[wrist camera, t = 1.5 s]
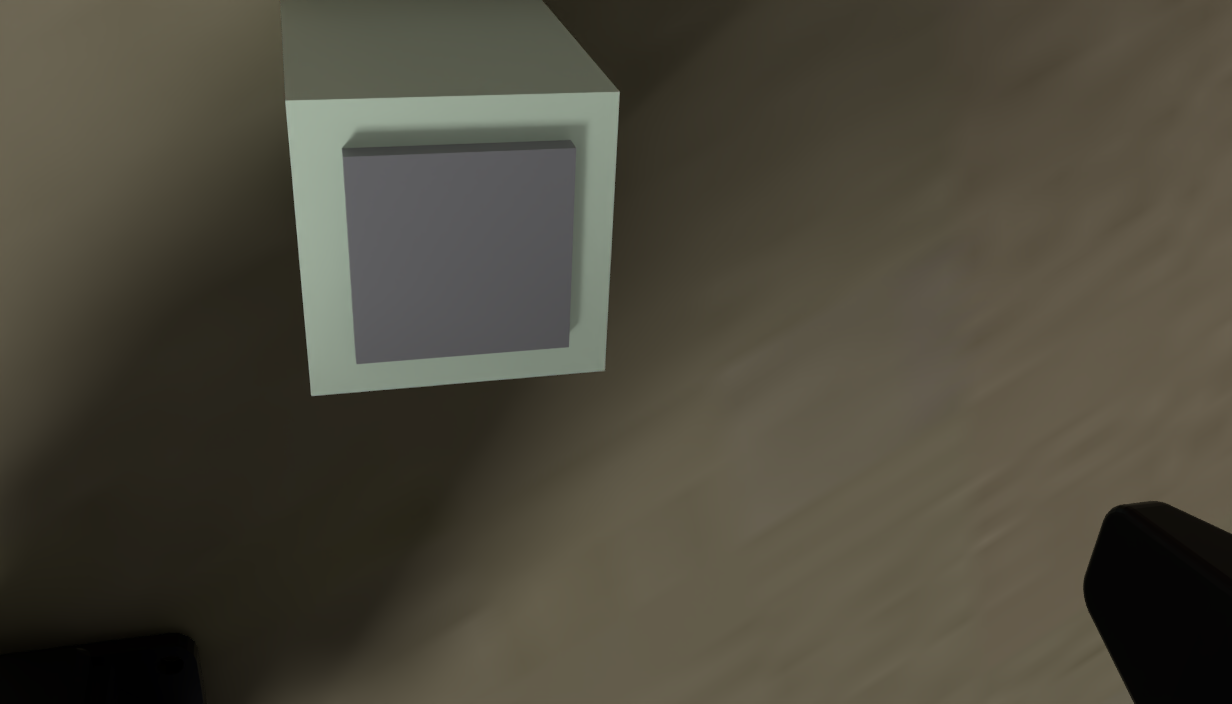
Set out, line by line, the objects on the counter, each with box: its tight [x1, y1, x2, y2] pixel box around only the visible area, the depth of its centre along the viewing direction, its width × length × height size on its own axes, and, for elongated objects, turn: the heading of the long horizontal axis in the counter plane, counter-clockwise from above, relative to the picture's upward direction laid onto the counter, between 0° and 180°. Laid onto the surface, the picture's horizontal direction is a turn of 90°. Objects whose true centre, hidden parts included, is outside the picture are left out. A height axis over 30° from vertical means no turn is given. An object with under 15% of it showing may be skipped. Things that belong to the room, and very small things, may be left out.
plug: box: [280, 0, 620, 396], centre depth 17 cm, size 4×4×6 cm
